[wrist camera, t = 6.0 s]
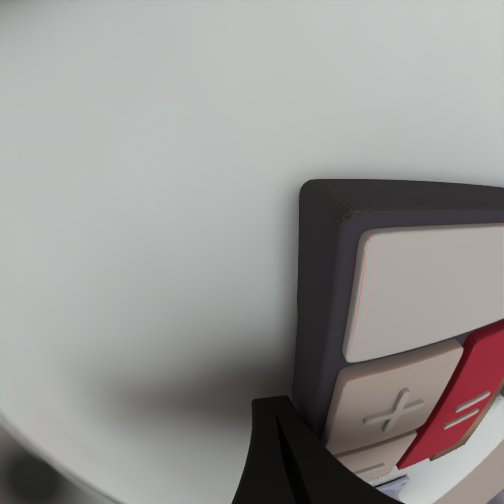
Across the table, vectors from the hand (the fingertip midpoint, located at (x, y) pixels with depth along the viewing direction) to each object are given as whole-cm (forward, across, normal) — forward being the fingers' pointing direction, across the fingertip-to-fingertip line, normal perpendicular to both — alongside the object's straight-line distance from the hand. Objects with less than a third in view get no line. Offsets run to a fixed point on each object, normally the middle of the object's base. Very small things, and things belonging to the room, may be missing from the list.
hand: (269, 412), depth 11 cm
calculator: (+2, -7, -1) cm, 7 cm away
